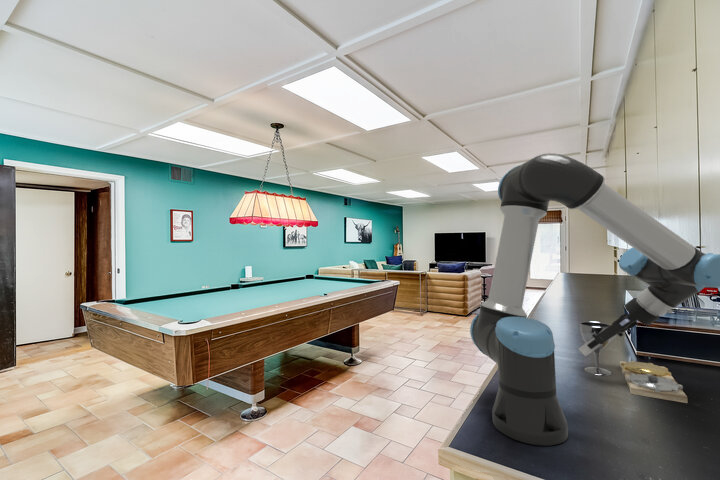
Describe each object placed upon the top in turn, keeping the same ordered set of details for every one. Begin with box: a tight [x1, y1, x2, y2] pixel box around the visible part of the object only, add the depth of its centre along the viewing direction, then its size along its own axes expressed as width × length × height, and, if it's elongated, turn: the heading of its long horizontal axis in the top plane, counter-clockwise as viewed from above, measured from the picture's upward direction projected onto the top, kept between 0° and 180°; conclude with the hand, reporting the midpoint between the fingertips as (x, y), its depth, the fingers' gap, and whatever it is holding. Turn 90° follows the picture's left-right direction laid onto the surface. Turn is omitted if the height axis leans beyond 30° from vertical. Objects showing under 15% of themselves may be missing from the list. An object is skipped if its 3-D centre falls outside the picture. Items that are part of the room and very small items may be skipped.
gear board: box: [619, 360, 689, 404], centre depth 94 cm, size 24×12×4 cm, turn 147°
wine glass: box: [579, 321, 612, 377], centre depth 103 cm, size 8×8×15 cm
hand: (590, 348), depth 105 cm, fingers open, 13 cm apart
